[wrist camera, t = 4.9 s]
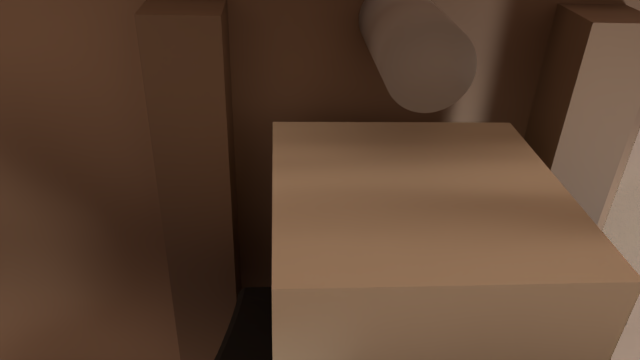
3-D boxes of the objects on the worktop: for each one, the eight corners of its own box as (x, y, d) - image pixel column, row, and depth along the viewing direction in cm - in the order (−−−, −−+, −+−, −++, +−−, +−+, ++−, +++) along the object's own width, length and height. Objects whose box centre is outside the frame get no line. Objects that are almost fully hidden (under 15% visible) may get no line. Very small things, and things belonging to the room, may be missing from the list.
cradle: (516, 397, 16) (571, 522, 13) (-217, 425, 15) (-343, 573, 12) (660, -36, 10) (822, 14, 7) (-576, -69, 9) (-1038, -24, 6)
